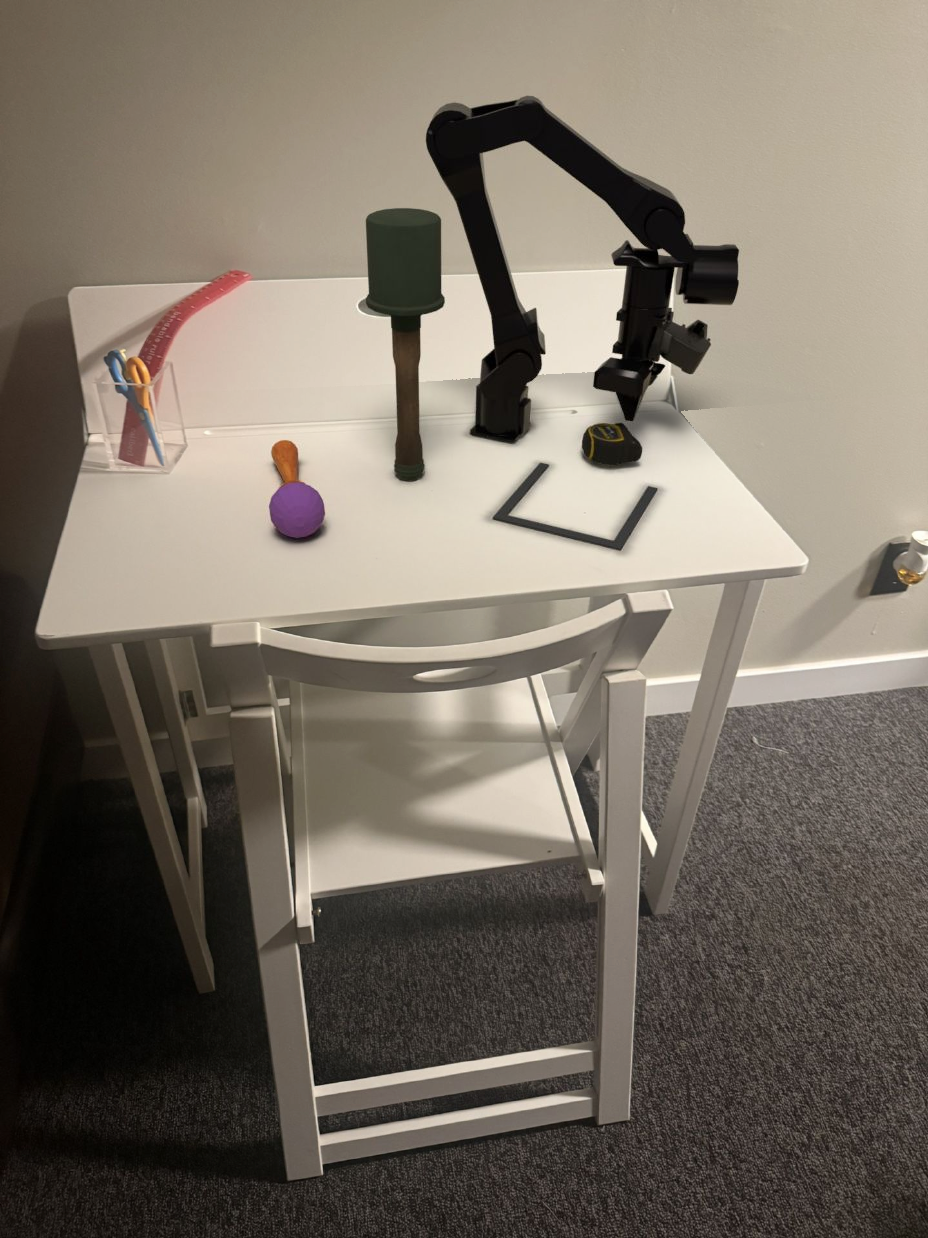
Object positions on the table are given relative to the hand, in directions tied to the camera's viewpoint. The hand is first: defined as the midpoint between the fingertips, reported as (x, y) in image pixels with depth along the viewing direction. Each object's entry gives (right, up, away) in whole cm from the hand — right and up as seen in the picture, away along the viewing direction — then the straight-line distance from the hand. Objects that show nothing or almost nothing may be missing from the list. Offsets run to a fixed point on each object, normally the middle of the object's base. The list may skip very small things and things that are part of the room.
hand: (629, 420), depth 120 cm
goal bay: (-9, -13, -14) cm, 21 cm away
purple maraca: (-42, -13, -15) cm, 46 cm away
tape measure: (-3, -6, -4) cm, 8 cm away
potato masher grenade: (-29, -9, -9) cm, 32 cm away
